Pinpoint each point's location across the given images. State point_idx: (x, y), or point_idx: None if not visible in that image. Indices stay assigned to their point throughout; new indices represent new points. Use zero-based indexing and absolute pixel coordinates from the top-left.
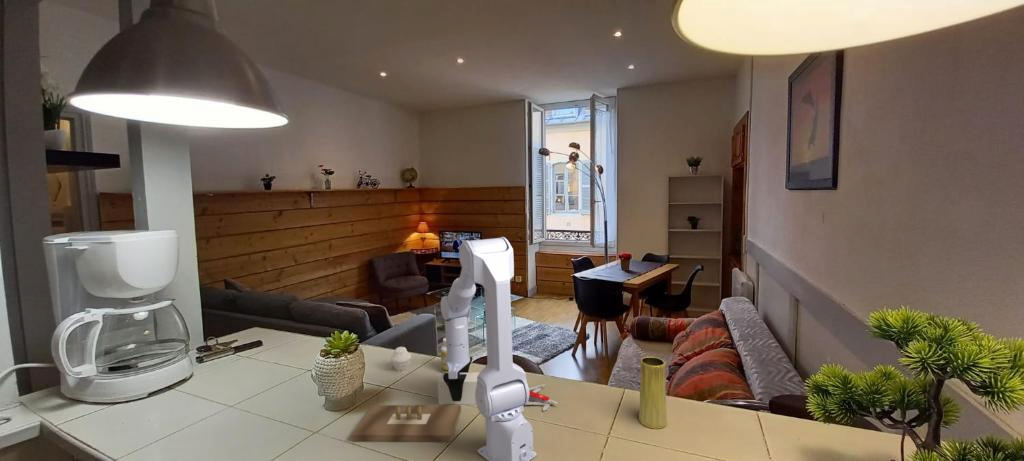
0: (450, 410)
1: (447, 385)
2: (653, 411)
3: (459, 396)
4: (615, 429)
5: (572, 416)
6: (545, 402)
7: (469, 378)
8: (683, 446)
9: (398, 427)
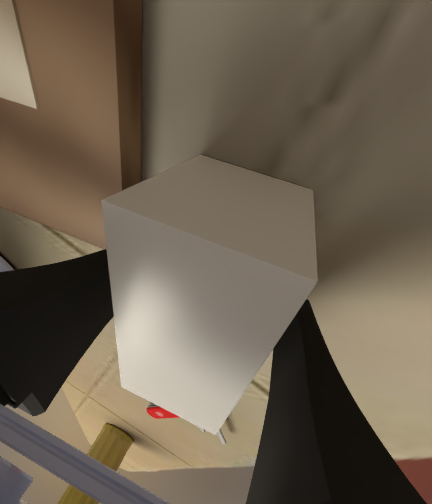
0: (85, 212)
1: (27, 269)
2: (89, 450)
3: None
4: (100, 406)
5: (125, 398)
6: (151, 403)
7: (154, 382)
8: (81, 417)
9: None
